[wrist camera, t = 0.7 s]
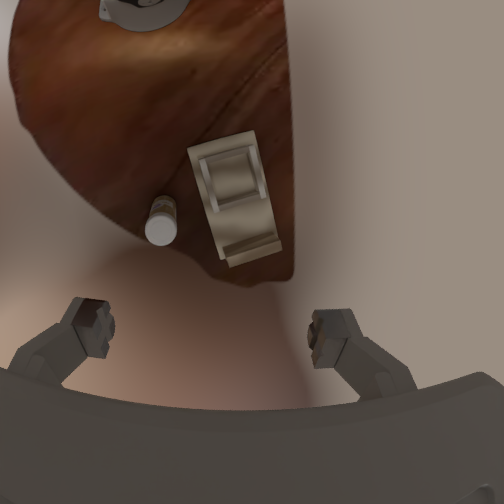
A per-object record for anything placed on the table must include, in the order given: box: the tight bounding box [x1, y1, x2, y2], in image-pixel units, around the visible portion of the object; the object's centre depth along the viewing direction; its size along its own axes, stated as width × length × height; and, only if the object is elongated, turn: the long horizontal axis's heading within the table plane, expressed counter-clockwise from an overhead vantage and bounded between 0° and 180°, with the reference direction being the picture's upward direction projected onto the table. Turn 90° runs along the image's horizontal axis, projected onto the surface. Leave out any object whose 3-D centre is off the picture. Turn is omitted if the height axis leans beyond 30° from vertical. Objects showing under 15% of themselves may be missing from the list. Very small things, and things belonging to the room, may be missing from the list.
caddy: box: [187, 130, 282, 267], centre depth 50 cm, size 22×12×6 cm, turn 13°
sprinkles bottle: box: [145, 195, 177, 246], centre depth 45 cm, size 5×5×13 cm
